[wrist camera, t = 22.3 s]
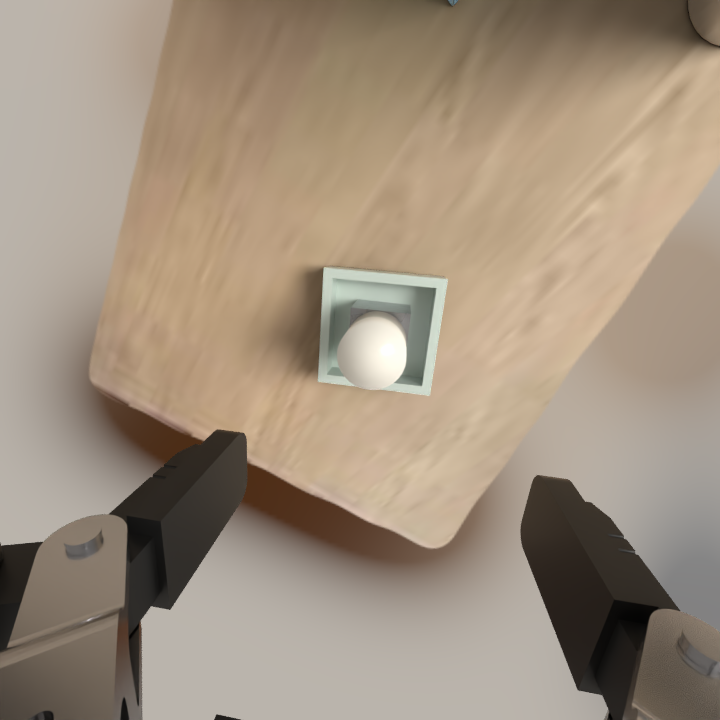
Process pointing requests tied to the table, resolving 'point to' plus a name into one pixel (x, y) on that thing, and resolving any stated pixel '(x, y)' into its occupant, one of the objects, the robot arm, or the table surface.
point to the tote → (393, 288)
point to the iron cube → (394, 309)
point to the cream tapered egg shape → (373, 351)
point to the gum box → (452, 2)
